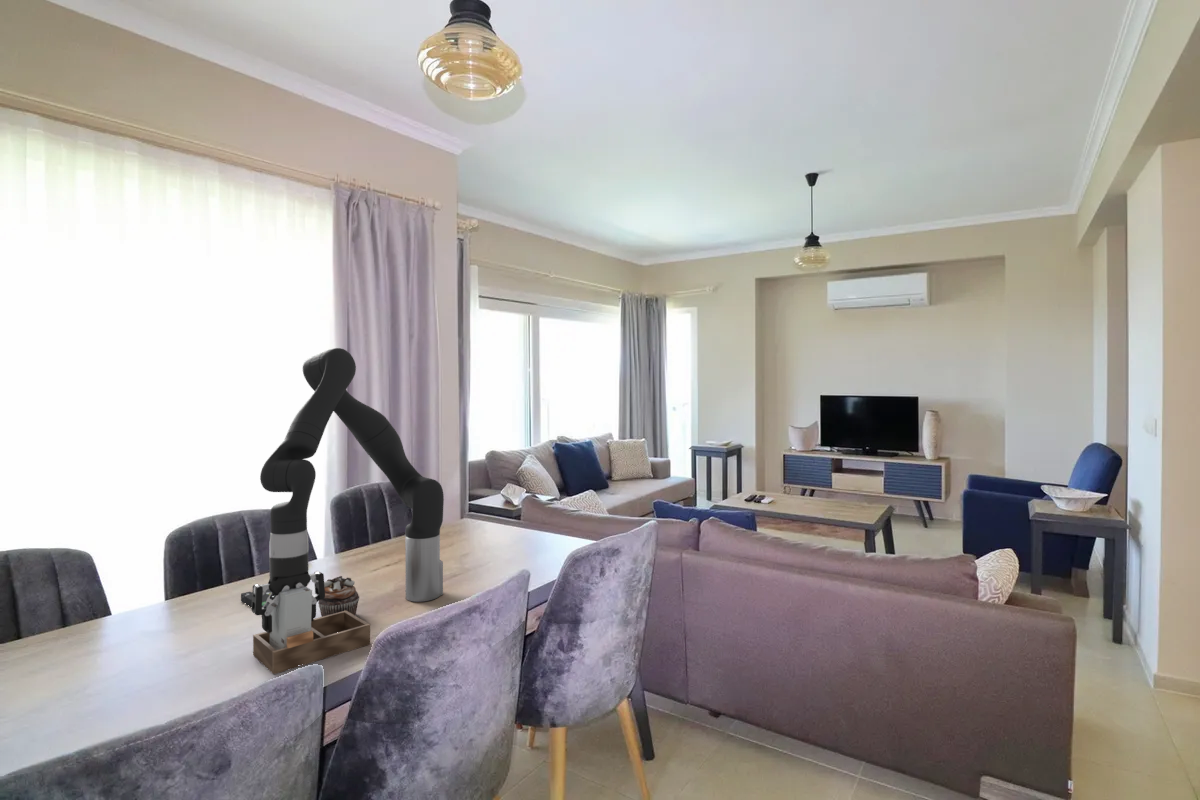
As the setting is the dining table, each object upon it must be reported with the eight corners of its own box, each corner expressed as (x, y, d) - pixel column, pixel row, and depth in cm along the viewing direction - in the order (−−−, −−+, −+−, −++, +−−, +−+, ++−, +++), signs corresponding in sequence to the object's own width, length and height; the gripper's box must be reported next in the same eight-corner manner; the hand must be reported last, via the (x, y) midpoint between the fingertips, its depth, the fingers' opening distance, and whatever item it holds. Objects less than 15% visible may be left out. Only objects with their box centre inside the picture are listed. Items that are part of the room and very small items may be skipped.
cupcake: (309, 622, 152) (309, 582, 152) (339, 609, 161) (338, 571, 161) (339, 627, 149) (338, 586, 149) (367, 614, 158) (367, 575, 158)
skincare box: (268, 653, 134) (268, 585, 133) (297, 645, 138) (296, 579, 138) (284, 665, 128) (283, 594, 128) (313, 655, 133) (312, 587, 132)
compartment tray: (346, 628, 148) (346, 602, 148) (370, 644, 139) (370, 615, 139) (253, 655, 133) (253, 625, 133) (273, 674, 125) (273, 642, 124)
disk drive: (239, 603, 167) (262, 616, 157) (239, 593, 167) (262, 605, 157) (279, 594, 175) (303, 605, 165) (279, 584, 175) (303, 595, 165)
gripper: (315, 542, 140) (316, 613, 140) (246, 554, 130) (247, 630, 130) (329, 548, 135) (330, 621, 135) (258, 561, 125) (259, 641, 125)
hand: (289, 626), depth 133 cm, fingers open, 8 cm apart
